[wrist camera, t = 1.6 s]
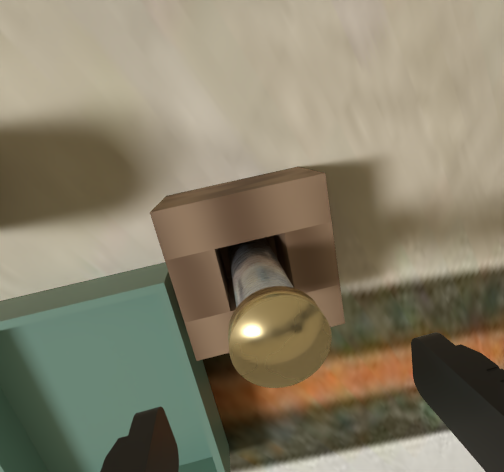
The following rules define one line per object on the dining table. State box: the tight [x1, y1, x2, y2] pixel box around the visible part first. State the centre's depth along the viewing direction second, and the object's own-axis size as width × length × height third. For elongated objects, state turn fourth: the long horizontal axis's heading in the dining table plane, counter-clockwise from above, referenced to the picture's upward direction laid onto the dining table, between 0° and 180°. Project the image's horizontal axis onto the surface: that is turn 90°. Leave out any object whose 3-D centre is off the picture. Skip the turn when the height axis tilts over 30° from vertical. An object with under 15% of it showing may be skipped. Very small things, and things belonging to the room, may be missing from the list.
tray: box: [0, 263, 230, 472], centre depth 24 cm, size 16×20×4 cm
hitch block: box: [150, 167, 345, 361], centre depth 21 cm, size 10×10×6 cm
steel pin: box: [228, 237, 331, 388], centre depth 17 cm, size 4×4×12 cm
